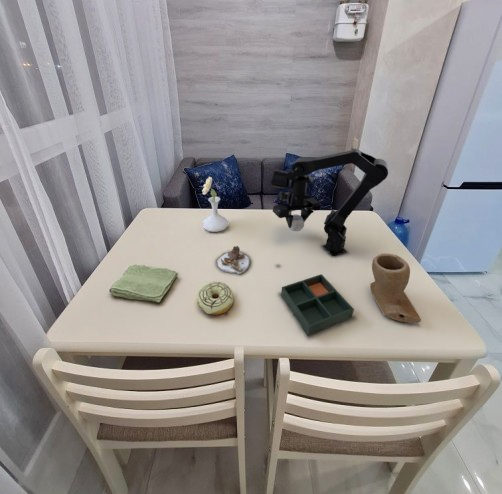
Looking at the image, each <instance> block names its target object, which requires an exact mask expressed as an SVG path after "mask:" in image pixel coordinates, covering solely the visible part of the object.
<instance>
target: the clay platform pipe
mask: <svg viewBox="0 0 502 494" xmlns="http://www.w3.org/2000/svg"><path fill="white" fill-rule="evenodd" d="M371 271H372V275H373V279H374V280H373V282H371V283H370V291H371V294H372V296H373V297H374V300H375V301H376V304H377V305H378V307H379V309H380V311H381V312H382V314H383V315H384V316H385V317H387V318H390V319H391V320H394V321H398V322H402V323H407V324H408V323H412V324H414V323H415V324H416V323H421V322H422V318H421V316H420V315H419V313H418V311H417V309H416V308H415V307H414V305H413V303H412V302H411V300H410V298H409V297H408V296H407V294H406V292H405V289H406V288H407V287H408V284H409V281H410V276H411V267H410V265H409V263H408V262H407V261H406V260H405V259H404V258H403V257H401V256H399V255H397V254H394V253H387V252H386V253H379V254H377V255H375V256H374V257H373V259H372V262H371Z"/></svg>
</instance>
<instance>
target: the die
mask: <svg viewBox="0 0 502 494" xmlns="http://www.w3.org/2000/svg"><path fill="white" fill-rule="evenodd" d="M292 215H293V220H292V225H291V227H290V228H289V227H288V229H289V230H290V231H292V232H300V231H301V230H303V228H304V226H305V222H304V220H303V218H302V217H301V214H297V213H296V214H295V213H294V214H292Z"/></svg>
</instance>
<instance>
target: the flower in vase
mask: <svg viewBox="0 0 502 494" xmlns="http://www.w3.org/2000/svg"><path fill="white" fill-rule="evenodd" d="M212 182H213V177H211V176H208V178H206V180H205V183H204V184H203V188H202V189H201V192H202V195H204V196H205V195H207V193H208V192H209V191H210V190H211V191H210V195H211V197H209V198H208V199H207V200H208V202H209V203H210V205H211V211H212V212H211V214H210V215H208V216H207V217H206V218H205V219H204V220H203V221H202V228H204V229H205V231H208V232H211V233H212V232H213V233H216V232H222V231H224V230H225V229H227V228H228V227H229V220H228V219H227V218H226V217H225V216H223V215H221V214H219V212H218V207H219V206H218V205H219V203H220V201H221V197H219V196H217V192H216V191H215V189H214V188H212V187H211V186H212Z"/></svg>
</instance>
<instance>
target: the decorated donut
mask: <svg viewBox="0 0 502 494" xmlns="http://www.w3.org/2000/svg"><path fill="white" fill-rule="evenodd" d="M196 302H197V305H198V306H199V308H200V309H201V310H203V311H204V313H206V314H207V315H220V314H224V313H226V312H228V311H229V309H230V308H231V307H232V305H233V303H234V293H233V290H232V288H231V287H230V286H229V285H228V284H226V282H221V281H212V282H209V283H207V284H205V285H203V286H201V287H200V288H199V290H198V291H197V295H196Z"/></svg>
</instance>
